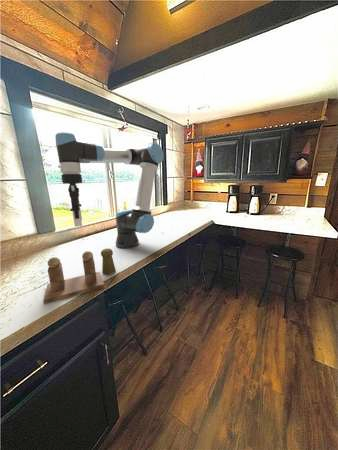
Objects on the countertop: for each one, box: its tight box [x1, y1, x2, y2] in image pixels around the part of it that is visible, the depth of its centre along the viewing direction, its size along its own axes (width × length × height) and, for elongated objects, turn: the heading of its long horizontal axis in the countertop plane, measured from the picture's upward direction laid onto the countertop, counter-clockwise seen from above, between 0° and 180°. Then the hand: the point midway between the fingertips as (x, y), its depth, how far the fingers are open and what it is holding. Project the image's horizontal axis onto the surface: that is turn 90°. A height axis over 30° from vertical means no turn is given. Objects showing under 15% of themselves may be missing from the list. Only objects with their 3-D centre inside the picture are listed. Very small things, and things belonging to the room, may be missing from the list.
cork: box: [100, 248, 116, 276], centre depth 84 cm, size 6×6×11 cm
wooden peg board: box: [43, 250, 105, 304], centre depth 71 cm, size 20×12×14 cm, turn 118°
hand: (78, 223), depth 81 cm, fingers open, 13 cm apart
